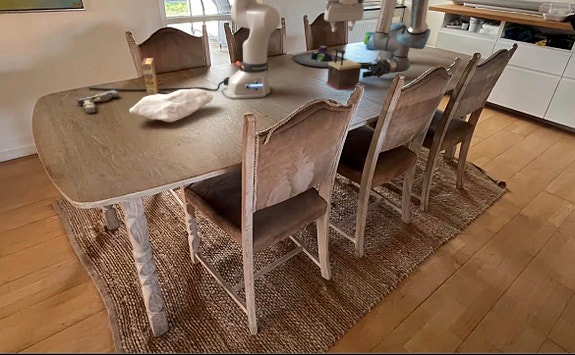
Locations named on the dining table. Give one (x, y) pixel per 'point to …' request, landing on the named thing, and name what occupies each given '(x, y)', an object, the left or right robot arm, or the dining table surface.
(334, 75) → the chest
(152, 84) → the candy box
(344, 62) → the lid
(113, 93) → the handgun
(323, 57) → the dark round tray
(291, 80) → the dining table surface
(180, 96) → the crumpled cloth
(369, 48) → the snack cup
